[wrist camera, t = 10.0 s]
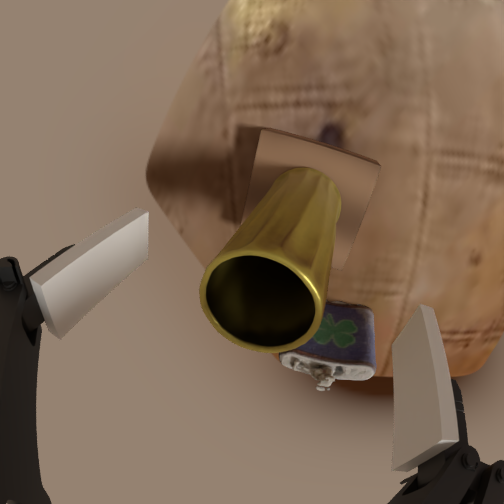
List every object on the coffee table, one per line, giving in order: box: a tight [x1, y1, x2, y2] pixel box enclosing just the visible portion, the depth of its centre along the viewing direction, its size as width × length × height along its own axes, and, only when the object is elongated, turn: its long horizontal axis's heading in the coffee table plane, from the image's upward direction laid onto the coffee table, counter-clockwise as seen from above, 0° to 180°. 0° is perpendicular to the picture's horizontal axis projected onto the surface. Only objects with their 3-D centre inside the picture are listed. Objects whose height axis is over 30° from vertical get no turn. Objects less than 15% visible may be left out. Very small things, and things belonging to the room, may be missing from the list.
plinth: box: [241, 128, 381, 271], centre depth 25 cm, size 10×10×3 cm
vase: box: [199, 168, 341, 353], centre depth 17 cm, size 6×6×14 cm
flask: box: [279, 299, 376, 391], centre depth 26 cm, size 9×3×11 cm, turn 87°
